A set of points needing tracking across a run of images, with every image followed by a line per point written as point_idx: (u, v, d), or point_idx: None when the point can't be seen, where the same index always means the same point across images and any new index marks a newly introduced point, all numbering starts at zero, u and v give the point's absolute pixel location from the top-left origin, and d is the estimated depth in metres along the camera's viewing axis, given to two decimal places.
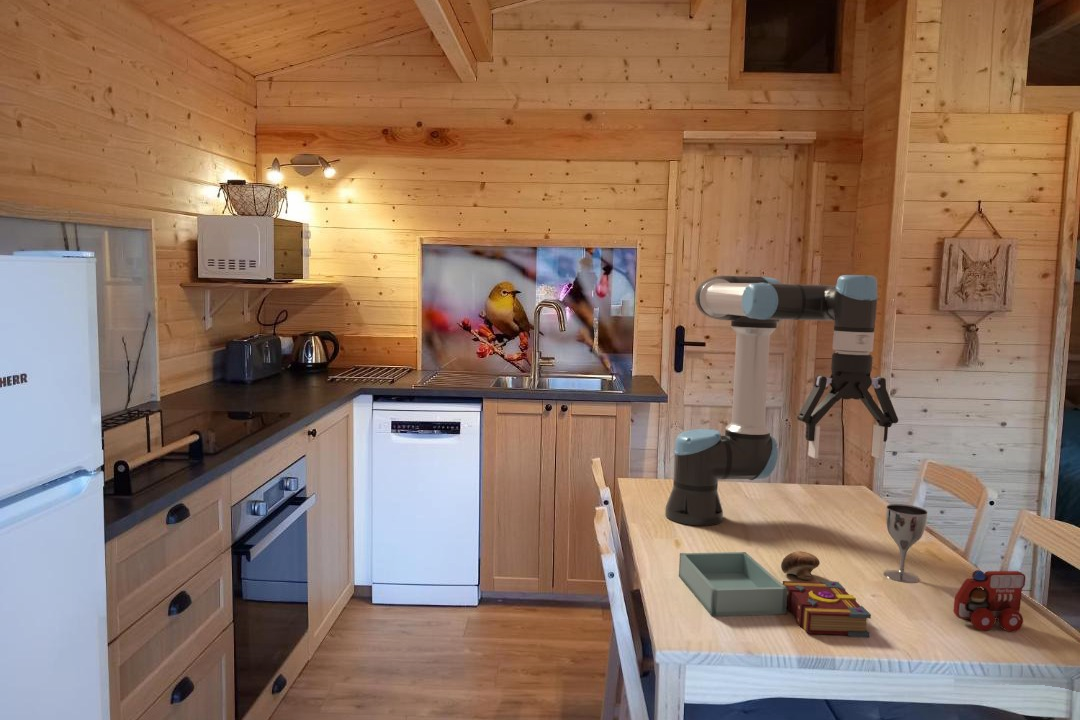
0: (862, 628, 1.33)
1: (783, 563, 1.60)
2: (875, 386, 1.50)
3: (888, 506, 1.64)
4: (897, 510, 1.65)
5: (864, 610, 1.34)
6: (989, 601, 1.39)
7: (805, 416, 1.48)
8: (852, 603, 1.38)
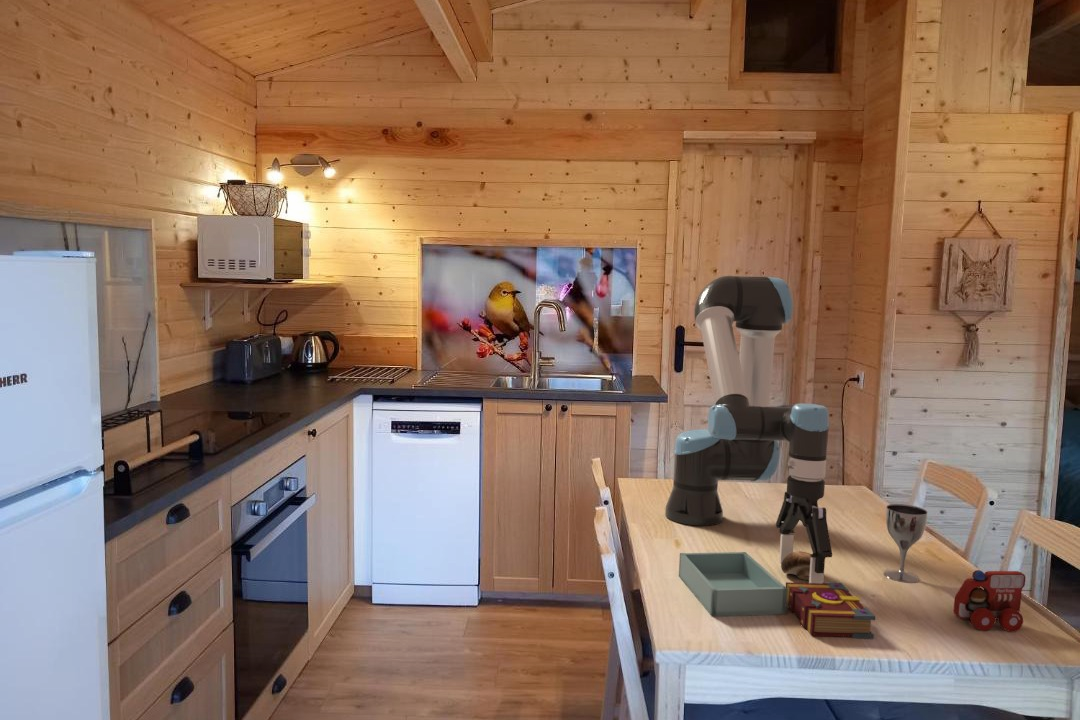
0: (866, 630, 1.33)
1: (783, 563, 1.60)
2: None
3: (888, 506, 1.64)
4: (897, 510, 1.65)
5: (868, 612, 1.34)
6: (989, 601, 1.39)
7: (777, 522, 1.69)
8: (856, 605, 1.37)
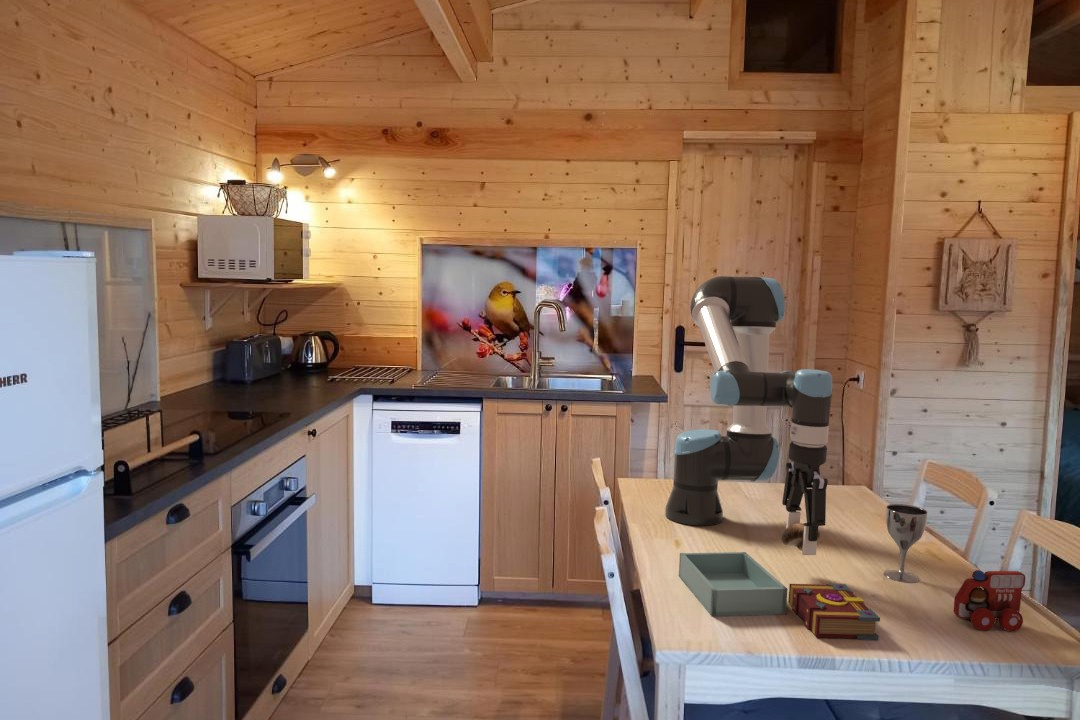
0: (871, 631, 1.32)
1: (783, 535, 1.60)
2: None
3: (888, 506, 1.64)
4: (897, 510, 1.65)
5: (873, 613, 1.33)
6: (989, 601, 1.39)
7: (783, 499, 1.66)
8: (860, 606, 1.36)
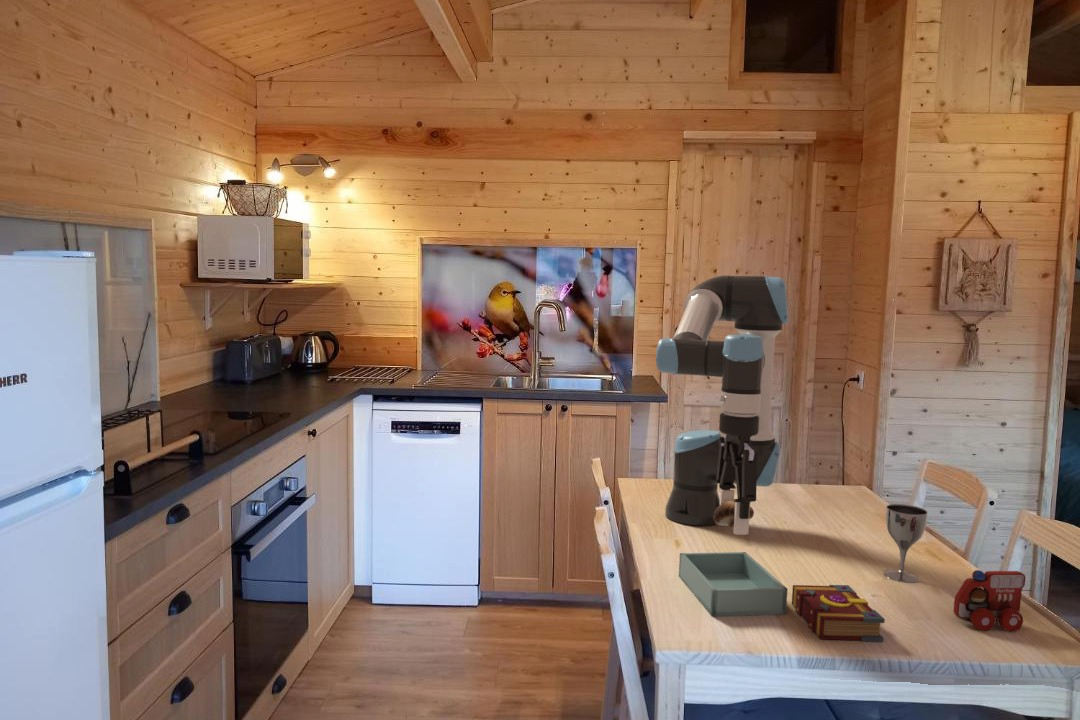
0: (875, 633, 1.32)
1: (715, 513, 1.48)
2: None
3: (888, 506, 1.64)
4: (897, 510, 1.65)
5: (877, 614, 1.33)
6: (989, 601, 1.39)
7: (716, 477, 1.55)
8: (864, 607, 1.36)
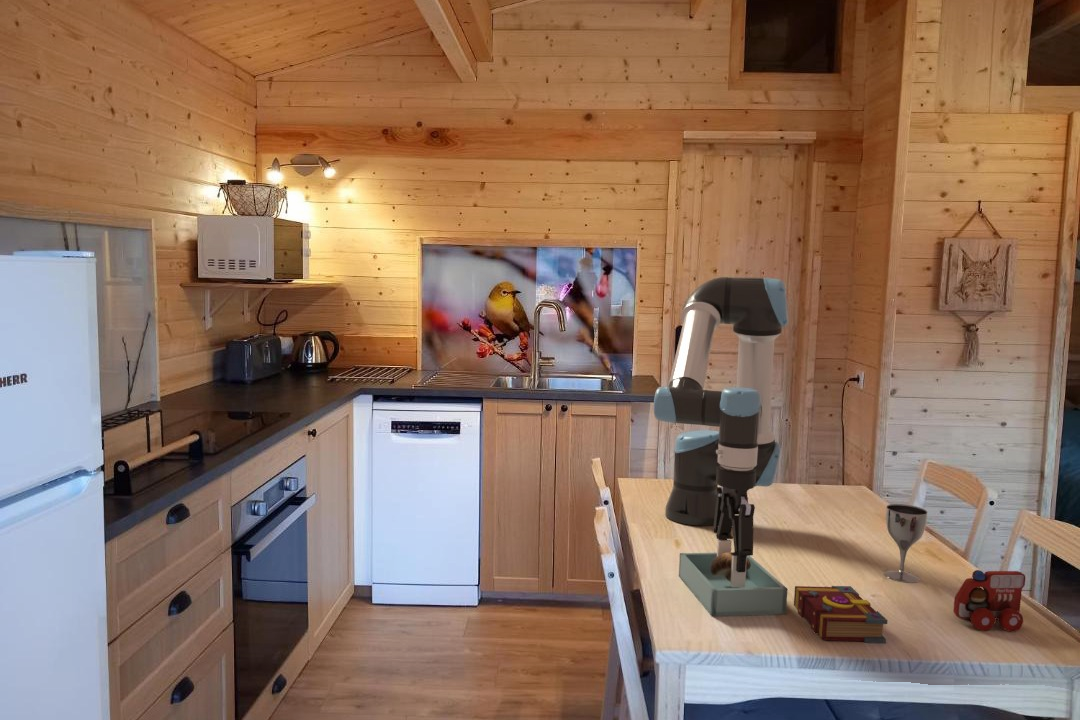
0: (878, 634, 1.31)
1: (712, 565, 1.49)
2: None
3: (888, 506, 1.64)
4: (897, 510, 1.65)
5: (880, 615, 1.32)
6: (989, 601, 1.39)
7: (714, 527, 1.56)
8: (867, 608, 1.35)
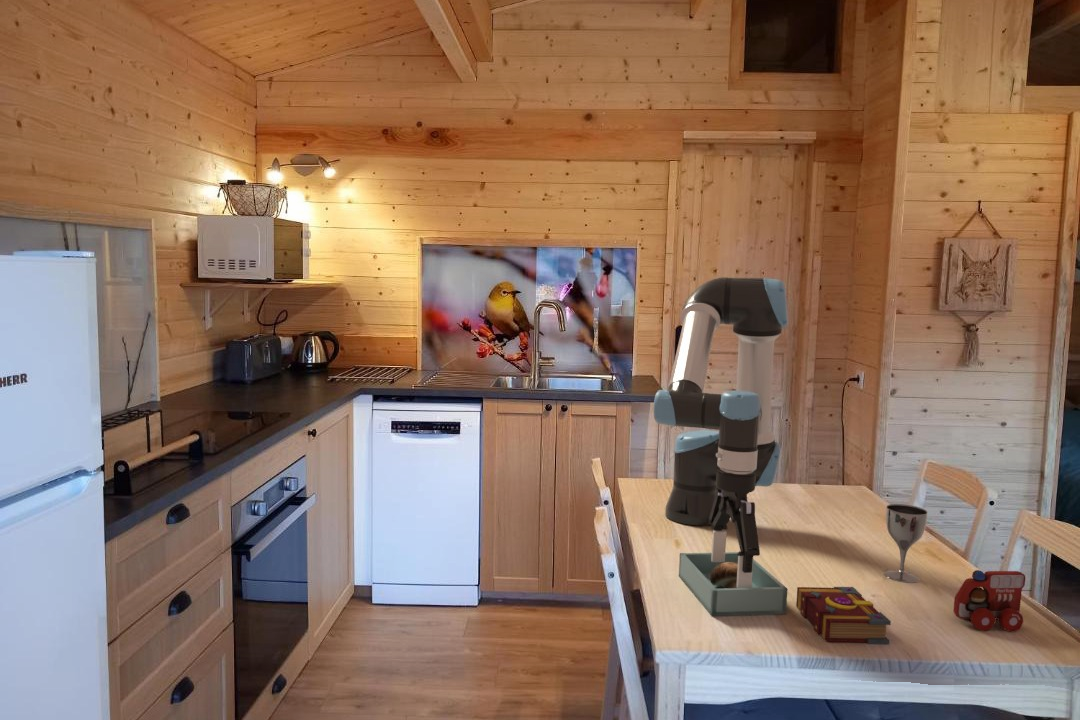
0: (882, 635, 1.31)
1: (711, 574, 1.49)
2: None
3: (888, 506, 1.64)
4: (897, 510, 1.65)
5: (883, 616, 1.32)
6: (989, 601, 1.39)
7: (709, 518, 1.58)
8: (870, 609, 1.35)
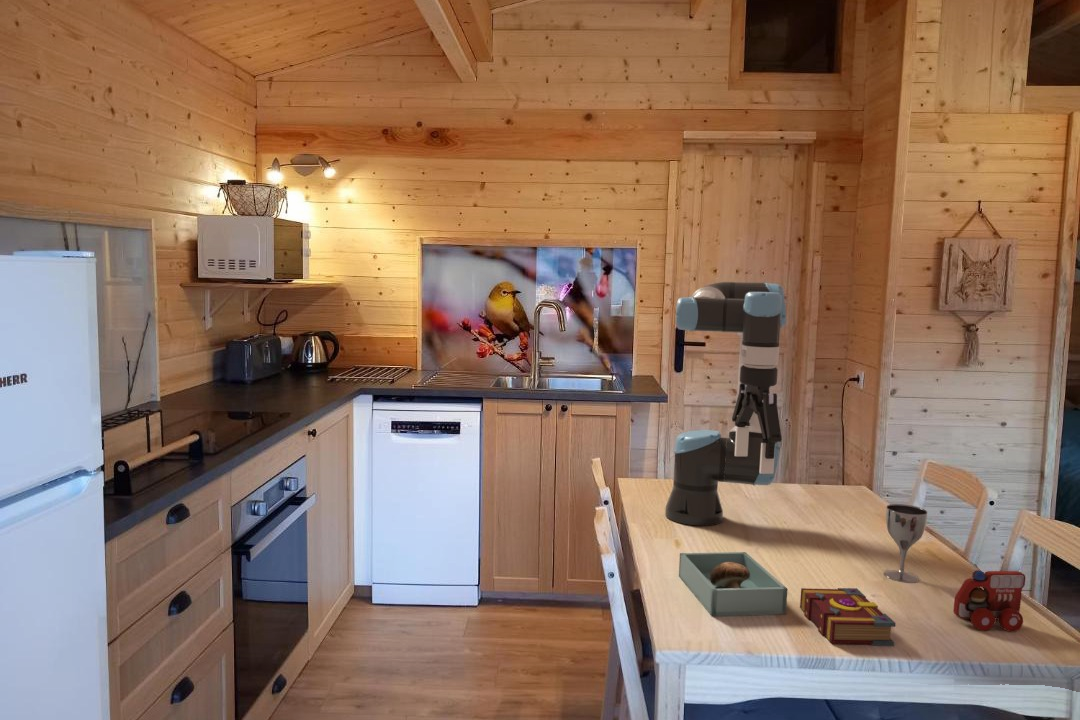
0: (886, 637, 1.30)
1: (711, 574, 1.49)
2: None
3: (888, 506, 1.64)
4: (897, 510, 1.65)
5: (888, 618, 1.31)
6: (989, 601, 1.39)
7: (733, 416, 1.68)
8: (874, 611, 1.34)
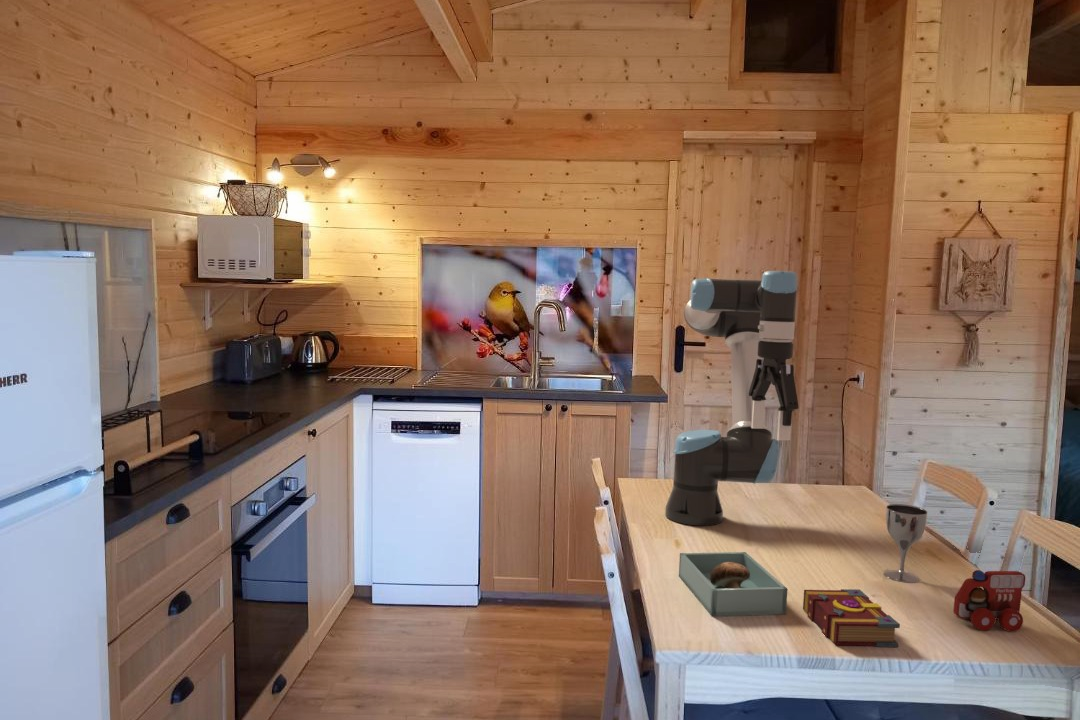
0: (890, 638, 1.30)
1: (711, 574, 1.49)
2: None
3: (888, 506, 1.64)
4: (897, 510, 1.65)
5: (892, 619, 1.31)
6: (989, 601, 1.39)
7: (749, 391, 1.78)
8: (878, 612, 1.34)
